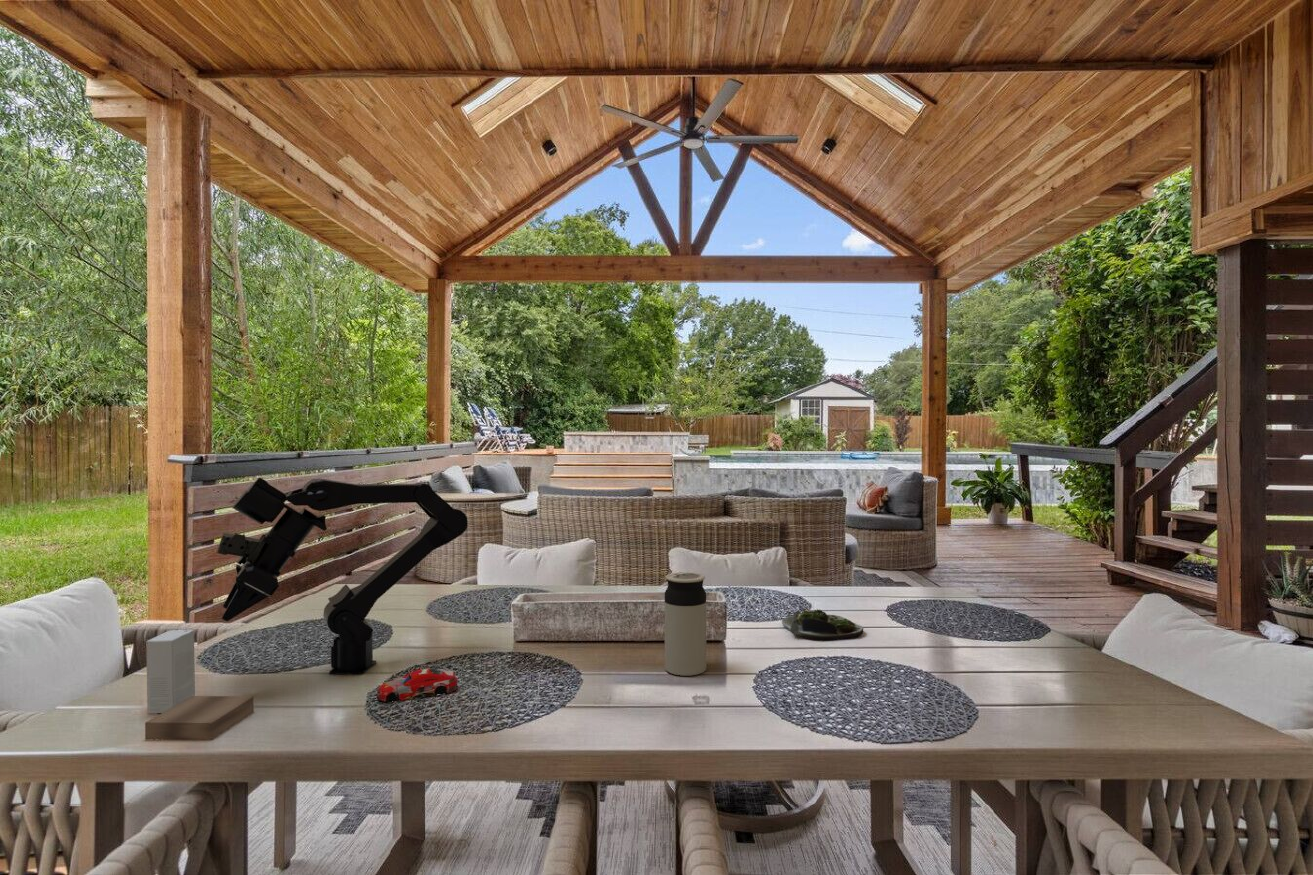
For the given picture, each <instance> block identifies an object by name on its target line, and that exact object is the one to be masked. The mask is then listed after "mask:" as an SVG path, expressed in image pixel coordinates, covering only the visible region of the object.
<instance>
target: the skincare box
mask: <svg viewBox="0 0 1313 875" xmlns="http://www.w3.org/2000/svg"><path fill="white" fill-rule="evenodd" d="M145 644H146V646H145V647H146V697H147V699H146V701H147V702H146V703H147V714H148V715H155V714H157V713H163V712H165V711H167V710H169V709H170V708H172V707H174V706H176V705H178V704H179V703H181V702H183V701H185V700H187V699H188V698H190V697H192V696H196V676H195V675H196V672H195V671H196V670H195V667H196V666H195V630H193V629H181V630H179V629H175V630H173V629H171V630H167V631H166V632H164V633H161V634H159V635H156V636H154V637H151V638H150V639H148V640H146V642H145ZM157 715H158V714H157Z"/></svg>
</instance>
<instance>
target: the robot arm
mask: <svg viewBox="0 0 1313 875" xmlns="http://www.w3.org/2000/svg"><path fill="white" fill-rule="evenodd" d="M286 502H288V503H291V505H292V506H298V507H299V506H305V507H306V506H307V507H308V508H310V509H311V510H314V511H318V512H325V511H329V510H333V509H334V510H335V509H340V508H344V507H347V506H352V505H359V504H360V505H361V504H401V503H402V504H407V503H408V504H411V503H414V504H415V503H416V504H417V505H418V506H419V508H421V510H422V511H423V512H424V514H426V515H427V516H428V517H429V519H428V520H427V521H426V522H425V524H424V525H423V527H422V529H421V530H420V532H419V534H417V536H415V538H413V539H412V540H411V541H410V542H408V543H407V544H406V545H405V546H404V547H402V548H401V549H400V550H399V551H398V552H397V553H396V554H395V555H393V556H392V557H391V558H390V559H389V560H388V561H386V562H385V563H384V564H383V565H382V566H380V568H378V569H377V570H376V571H375V572H374V573H373V574H372V575H370V576H369V577H368V578H366V580H364V581H363V582H361V584H359V585H356V586H355V587H352V588H350V587H349V585H348V584H344V585H343V586H342V588H340V589H339V591H337V593H336V594H334V595H333V596H330V597H328V601H329V602H328V603H327V604H325V607H324V609H323V614H322V615H323V619H324V622H325V624H326V626H327V628H328V629H329V631H331V632H332V633H334V634H335V635H337V636H336V637H334V638H333V639H332V645H331V646H330V667H331V669H330V670H329V671H328V674H329V675H362V674H363V675H364V674H365V673H366V672H367V671H368V670H370V669H371V668H372V667H374V666H375V665H376V664H377V660H375V659H374V660H373V658H374V657H373V653H374V650H373V642H374V640H373V639H374V638H373V632H374V629H373V627H372V626H371V625H370V624H369V622H368V621H367V619H366V617H368V615H369V614H370V612H371V610H372V608H373V607H374V605H375V603H376V602H377V601H378V600H379V599H380V598H381V597H382V596H383V595H384V594H386V593H387V592H388V591H389V590H390V589H391V588H393V586H395V585H396V584H397V583H398V582H399V581H401V579H403V578H404V577H405V576H406V575H407V574H408V573H409V572H410V571H412V570H413V569H414V568H415V567H416V566H417V565H418V564H419V563H421V561H423V560H424V559H425V558H426V557H427V556H428V555H430V554H431V553H432V552H433V551H434V550H436V549H439V548H440V547H442V546H445V545H447V544H449V543H451V542H453V541H454V540H455V539H457V538H458V537H460V536H462V535H464V533H465V532H466V530H467V529H468V517H467V515H466V513H465V512H463V511H462V510H460V509H457V508H454V507H452V506H451V505H450V504H449V503H448V502H447V501H446V500H445V499H443V498H442V497H441V496H440V495H439V494H438V493H437V492H435V491H434V490H433V488H432V487H431V486H430V485H429V484H427V483H423V482H415V483H366V484H365V483H359V484H358V483H350V482H343V481H338V480H331V479H325V478H320V477H319V478H318V477H317V478H311V479H310V480H309V481H307V482H306V483H305V484H304V485H303V487H301V488H298V489H295V490H289V491H287V492H285V493H284V492H283V491H281V490H280V489H278V488H276V487H275V486H273V485H271V484H270V483H269V482H268V481H267V480H265V479H264V478H262V477H258V478H257V479H256V480H254V482H253V483H252V484H251V485H250V486H249V487H248V489H247V490H245V491H243V493H242V494H241V495H240V496H239V498H238V499H237V500H236V501H235V503H234V504H233V505H232V509H233V510H235V511H237V512H239V513H240V514H241V515H243V516H245V517H247V518H249V519H251V520H252V521H254V522H256V523H257V524H259V525H263V524H264V523H265V522H267V523H269V524H272V523H273V522H274V521H275V520H276V519H277V518H278V517H279V515H280V514H281V512H282V511H283V510H284V508H285V509H286V510H285V511H284V512H283V513H282V514H281V516H280V517H279V518H278V520H277V521H276V522H275V524H273V526H272V527H271V529H270V530H269V531H268V532H267V533H262V535H261V536H260V537H259V538H253V537H249V536H246V534H244V533H243V534H241V533H240V534H239V533H238V532H235V533H228V532H223V533H222V536H221V539H220V540H219V544H218V547H217V551H216V553H217V554H219V555H223V556H226V555H230V556H231V555H232V556H237V557H239V558H238V560H237V564H236V565H235V570H236V576H235V581H234V584H233V585H232V588H231V589H230V592H229V593H228V595H227V597H226V599H225V600H224V601H225V602H223V605H222V607H223V608H224V609H225V611H224V612H223V615H222V617H221V620H223V621H225V622H229V621H231V620H232V619H234V618H236V617H237V616H239V615H240V614H242V613H244V612H245V611H247V610H248V609H250V608H252V607H253V606H255V605H257V604H258V603H260V602H262V601H263V600H265V599H267V598H270V596H273V594H275V592H276V591H277V589H278V588H279V587H280V586H279V580H278V577H279V576H280V575H281V572H282V571H281V570H282V569H283V568H284V566H285V565H286V564H287V562H288V561H289V560H290V559H291V558H294V557H295V555H296V554H297V552H296V551H297V550H298V548H299V547H300V545H302V543H303V542H304V541H305V539H306V538H307V537H308V536H309V534H310V533H311V532H312V530H313V529H314V528H315V527H317V528H318V529H320V530H322V531H327V528H328V527H327V523H326V515H324V514H321V515H317V514H315V513H313V512H312V511H310V510H308V509H307V508H305V507H304V508H302V509H301V510H300V511H299V510H296V509H295V508H293V507H291V506H290V505H288V504H287V503H286Z"/></svg>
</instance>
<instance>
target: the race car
mask: <svg viewBox="0 0 1313 875" xmlns="http://www.w3.org/2000/svg"><path fill="white" fill-rule="evenodd" d="M458 688H459V686H458V678H457V677H456V673H455V671H453V670H450V669H449V670H448V669H446V670H445V669H442V668H433V667H432V668H421V669H416V670H413V671H411V672H409V673H407V674H406V675H404V676H402V677H399V678H397V679H392V680H389V681H387V682H384V683H383V684H381V685H380V686H379V687H378V688H377V692H376V697H377V699H378V700H379V701H382V702H387V703H388V702H392V701H397V702H398V701H407V700H411V699H412V700H413V699H419V698H425V697H426V696H427V697H431V695H433V696H436V695H437V694H443V693H445V694H448V693H451V692H454V691H456V690H457V689H458ZM427 697H426V698H427ZM392 703H393V702H392Z"/></svg>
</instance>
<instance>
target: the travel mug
mask: <svg viewBox="0 0 1313 875" xmlns="http://www.w3.org/2000/svg"><path fill="white" fill-rule="evenodd" d="M705 578H706V577H705V575H704V574H702V573H698V572H692V571H691V572H689V571H679V572H671V573H668V574H667V575H665V579H666V581H667V587H666V589H665V591H664V670H665V671H667V672H668V673H670V674H671V675H675V676H679V675H680V676H679V677H691V676H692V677H693V675H694V676H697V675H700V674H702V673H704V672H706V670H707V592H706V590H705V588H704V586H703V585H704V580H705Z"/></svg>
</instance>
